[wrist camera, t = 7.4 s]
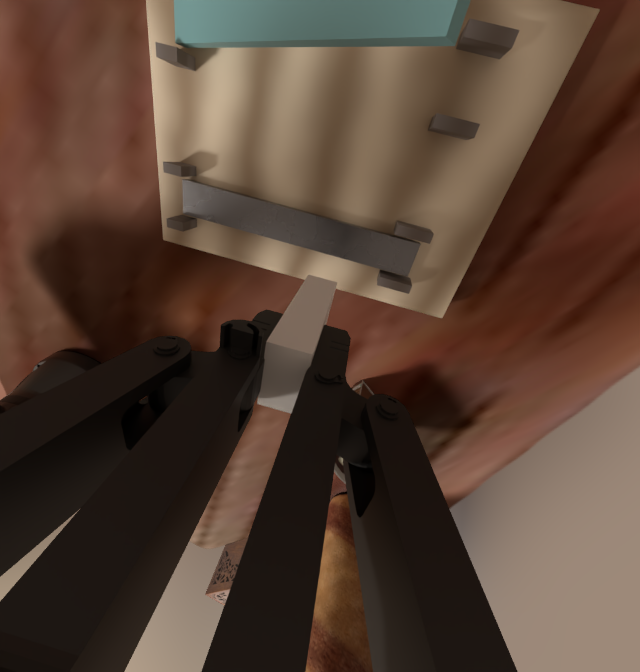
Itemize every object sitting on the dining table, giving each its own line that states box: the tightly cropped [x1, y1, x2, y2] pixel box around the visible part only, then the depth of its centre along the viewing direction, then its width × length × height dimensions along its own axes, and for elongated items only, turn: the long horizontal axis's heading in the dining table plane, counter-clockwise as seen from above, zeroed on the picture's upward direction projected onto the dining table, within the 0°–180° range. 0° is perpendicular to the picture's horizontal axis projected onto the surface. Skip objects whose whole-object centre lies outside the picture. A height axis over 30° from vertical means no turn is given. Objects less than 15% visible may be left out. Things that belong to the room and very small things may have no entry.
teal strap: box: [174, 0, 471, 48], centre depth 15 cm, size 22×3×1 cm
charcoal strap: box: [182, 179, 421, 277], centre depth 27 cm, size 22×3×1 cm, turn 78°
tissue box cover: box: [206, 538, 320, 606], centre depth 64 cm, size 26×14×10 cm, turn 133°
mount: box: [146, 0, 600, 318], centre depth 24 cm, size 30×22×5 cm
